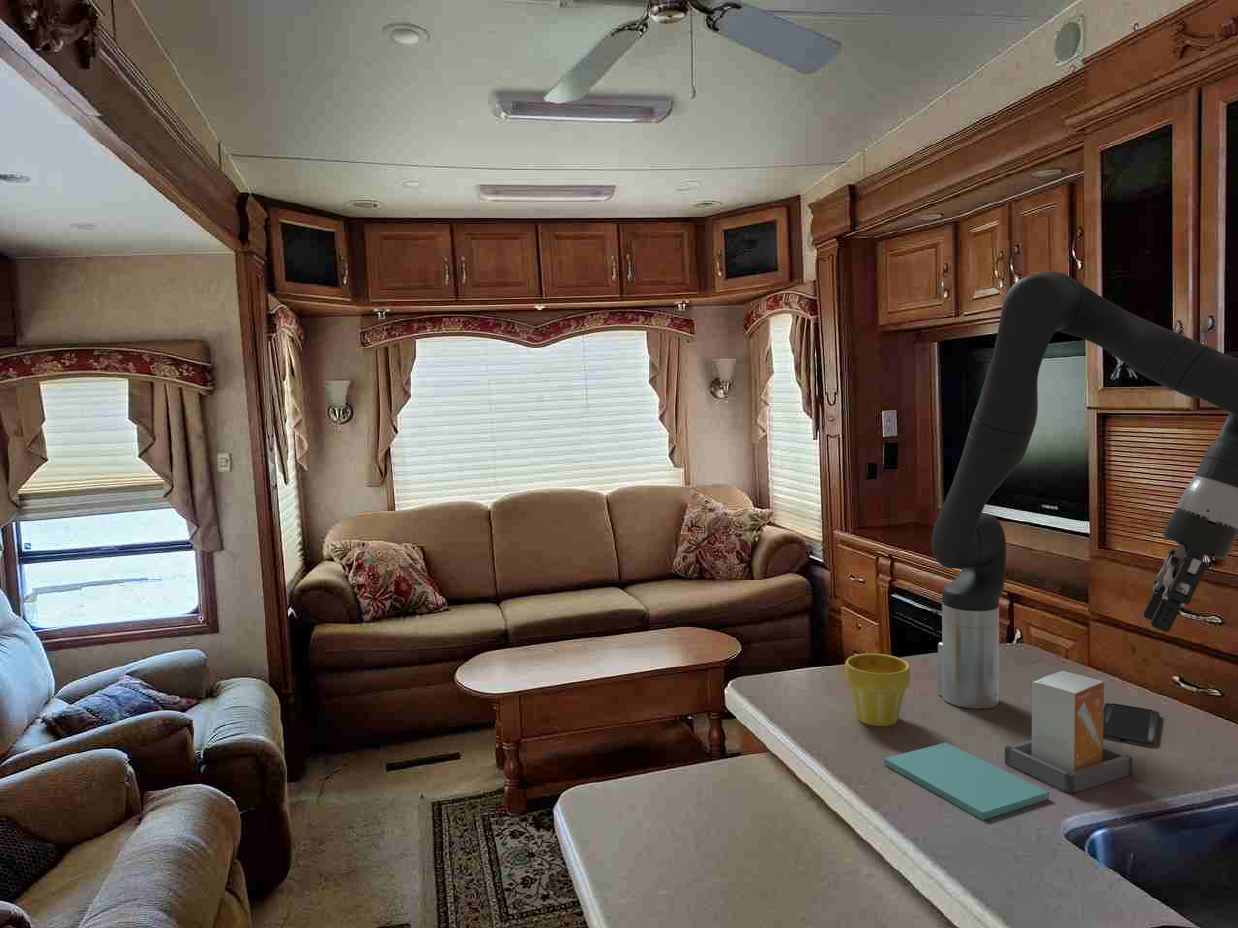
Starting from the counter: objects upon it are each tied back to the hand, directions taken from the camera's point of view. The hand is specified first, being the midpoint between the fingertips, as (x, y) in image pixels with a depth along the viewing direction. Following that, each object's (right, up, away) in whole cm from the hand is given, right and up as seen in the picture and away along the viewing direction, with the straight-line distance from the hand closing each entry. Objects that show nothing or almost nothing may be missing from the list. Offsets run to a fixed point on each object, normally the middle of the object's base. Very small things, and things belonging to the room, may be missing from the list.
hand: (1154, 624), depth 112 cm
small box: (-9, -22, +6) cm, 25 cm away
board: (-25, -23, +3) cm, 34 cm away
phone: (+9, -21, +20) cm, 30 cm away
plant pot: (-30, -21, +26) cm, 45 cm away
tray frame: (-9, -22, +6) cm, 24 cm away
